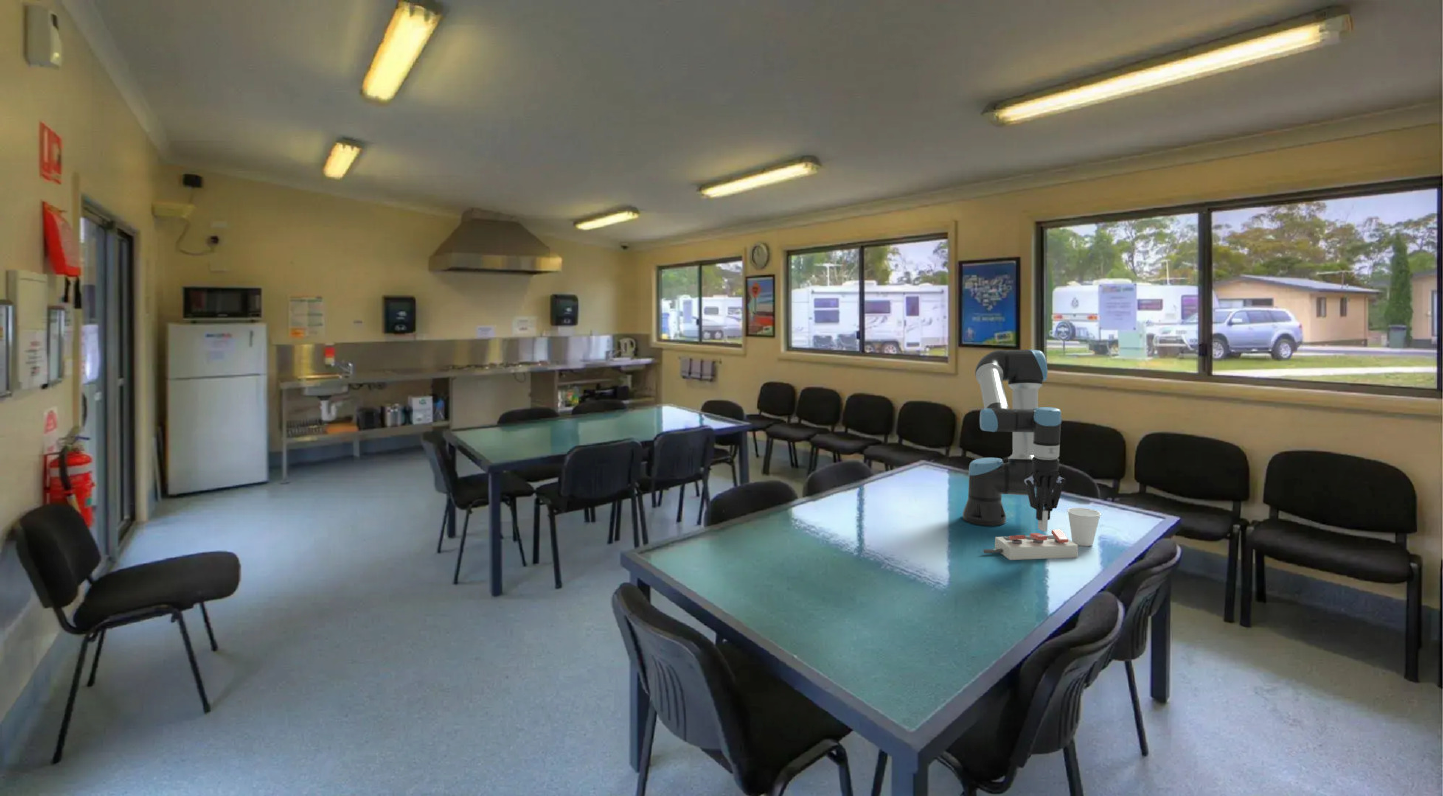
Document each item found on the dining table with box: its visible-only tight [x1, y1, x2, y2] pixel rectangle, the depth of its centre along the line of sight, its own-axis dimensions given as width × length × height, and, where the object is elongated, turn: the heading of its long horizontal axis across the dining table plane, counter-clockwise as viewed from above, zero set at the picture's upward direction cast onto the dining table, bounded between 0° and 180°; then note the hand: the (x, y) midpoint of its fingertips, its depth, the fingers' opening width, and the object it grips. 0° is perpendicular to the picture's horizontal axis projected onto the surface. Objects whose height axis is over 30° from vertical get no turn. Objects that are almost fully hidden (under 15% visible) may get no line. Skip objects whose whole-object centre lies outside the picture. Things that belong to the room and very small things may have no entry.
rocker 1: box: [1008, 534, 1026, 540], centre depth 207 cm, size 5×3×1 cm, turn 2°
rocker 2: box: [1029, 532, 1047, 540], centre depth 207 cm, size 5×3×1 cm, turn 2°
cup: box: [1066, 507, 1102, 547], centre depth 217 cm, size 10×10×11 cm
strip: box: [982, 534, 1079, 561], centre depth 209 cm, size 10×28×5 cm, turn 93°
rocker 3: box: [1050, 529, 1070, 543], centre depth 208 cm, size 5×3×1 cm, turn 3°
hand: (1042, 529), depth 205 cm, fingers closed
